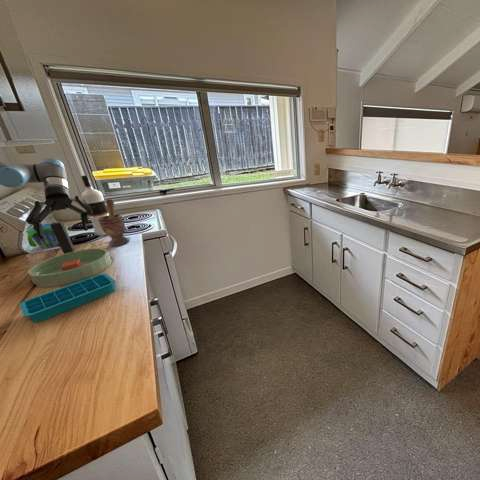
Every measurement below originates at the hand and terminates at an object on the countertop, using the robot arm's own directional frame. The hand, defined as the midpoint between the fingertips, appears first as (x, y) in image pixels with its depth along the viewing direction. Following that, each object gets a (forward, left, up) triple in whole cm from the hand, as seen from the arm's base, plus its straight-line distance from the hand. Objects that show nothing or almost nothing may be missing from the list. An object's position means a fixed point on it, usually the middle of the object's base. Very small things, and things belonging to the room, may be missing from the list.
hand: (63, 233), depth 104 cm
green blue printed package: (-12, +23, -11) cm, 29 cm away
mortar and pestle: (+15, +8, -11) cm, 20 cm away
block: (+4, -22, -10) cm, 24 cm away
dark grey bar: (0, -3, -11) cm, 11 cm away
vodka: (+8, +30, -11) cm, 33 cm away
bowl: (+3, -19, -11) cm, 22 cm away
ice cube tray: (+7, -43, -11) cm, 45 cm away
